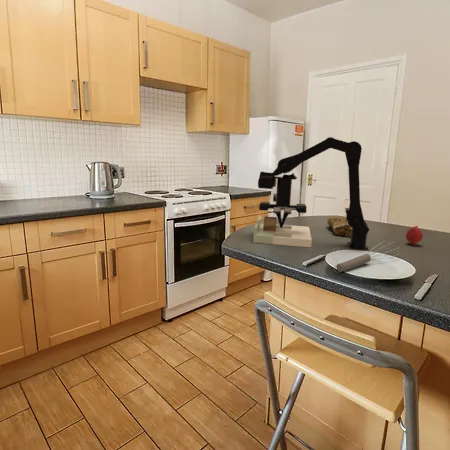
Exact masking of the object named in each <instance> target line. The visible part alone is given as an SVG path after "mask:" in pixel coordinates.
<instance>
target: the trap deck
mask: <svg viewBox="0 0 450 450" xmlns="http://www.w3.org/2000/svg"><path fill="white" fill-rule="evenodd" d="M263 226H264V222H263V223H262V216H258V218H257V220H256V222H255V224H254V227H253V237H252V238H253V239H252V243H253V244H254V243H255V244H266V245H276V246H287V247H288V246H289V247H299V248H312V243H313V241H312V234H311V229H310V226H302V225H291V224H290V225H289V224H283V227H282V228H280V224H279V223H278V224H277V223H276V232H274V231H263Z"/></svg>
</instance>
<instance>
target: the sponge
mask: <svg viewBox="0 0 450 450" xmlns="http://www.w3.org/2000/svg"><path fill="white" fill-rule="evenodd" d="M327 225H328V226H329V228H331V229H332V231H333V232H334V234H336V235H338V236H343V237H344V236H345V237H346V238H349V237H350V238H351V232H352V230H353V228H352V227H350V226H349V224H348V220H347V221H346V216H345V217H344V216H339V215H338V216H330V217H328V218H327Z"/></svg>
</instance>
